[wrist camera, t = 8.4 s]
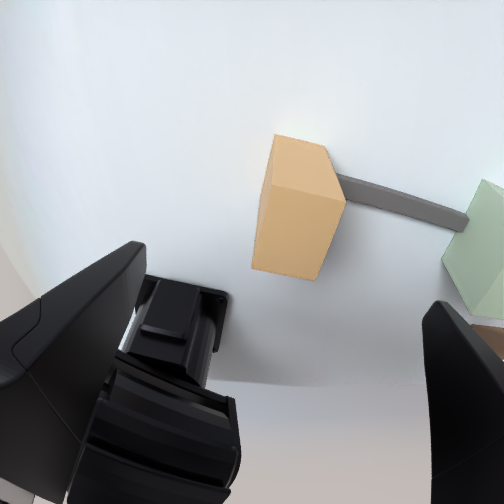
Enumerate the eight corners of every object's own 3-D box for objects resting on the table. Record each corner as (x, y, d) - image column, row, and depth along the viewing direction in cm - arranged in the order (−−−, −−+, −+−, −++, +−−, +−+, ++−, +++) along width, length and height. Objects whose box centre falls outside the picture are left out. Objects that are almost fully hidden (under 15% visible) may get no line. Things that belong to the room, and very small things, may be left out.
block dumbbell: (497, 274, 19) (532, 334, 14) (255, 216, 18) (245, 292, 13) (536, 206, 15) (585, 260, 10) (280, 110, 14) (280, 148, 9)
